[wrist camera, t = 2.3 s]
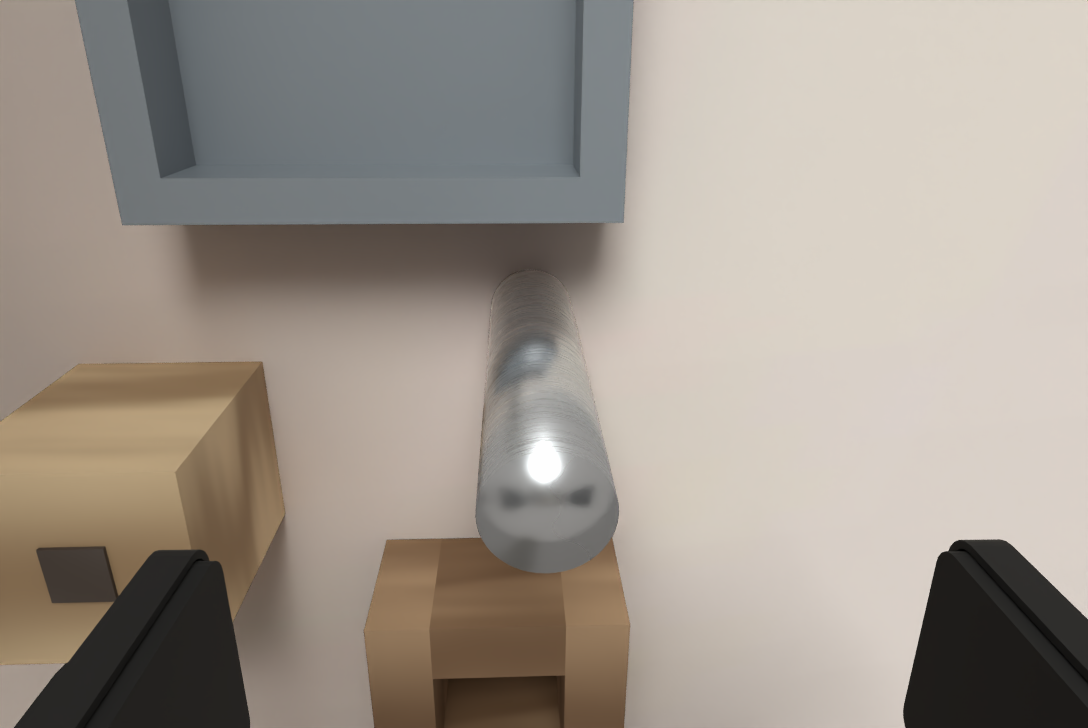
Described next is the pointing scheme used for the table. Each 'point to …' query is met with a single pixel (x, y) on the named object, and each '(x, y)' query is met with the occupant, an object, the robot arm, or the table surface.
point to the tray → (362, 109)
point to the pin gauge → (541, 435)
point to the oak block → (128, 491)
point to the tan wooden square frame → (494, 640)
